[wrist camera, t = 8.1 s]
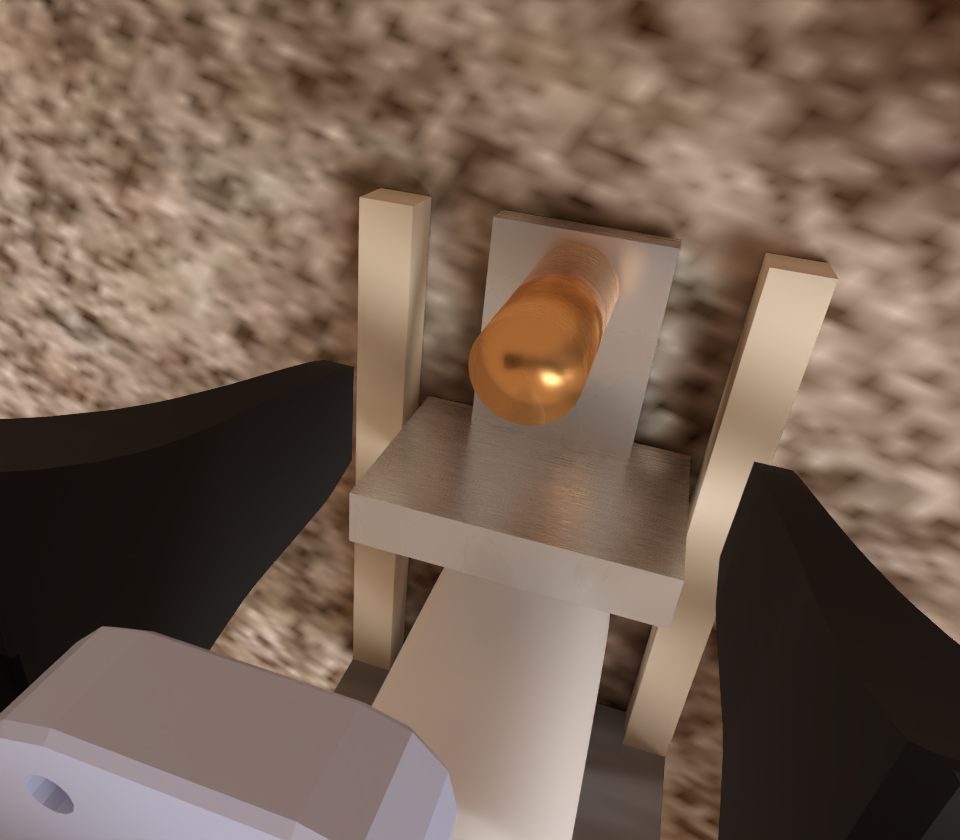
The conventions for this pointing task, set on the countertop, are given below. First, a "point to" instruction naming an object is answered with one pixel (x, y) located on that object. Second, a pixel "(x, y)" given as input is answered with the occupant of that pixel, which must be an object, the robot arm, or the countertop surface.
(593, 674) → the can
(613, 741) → the press frame
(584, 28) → the countertop surface
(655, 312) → the press jaw
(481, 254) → the countertop surface
